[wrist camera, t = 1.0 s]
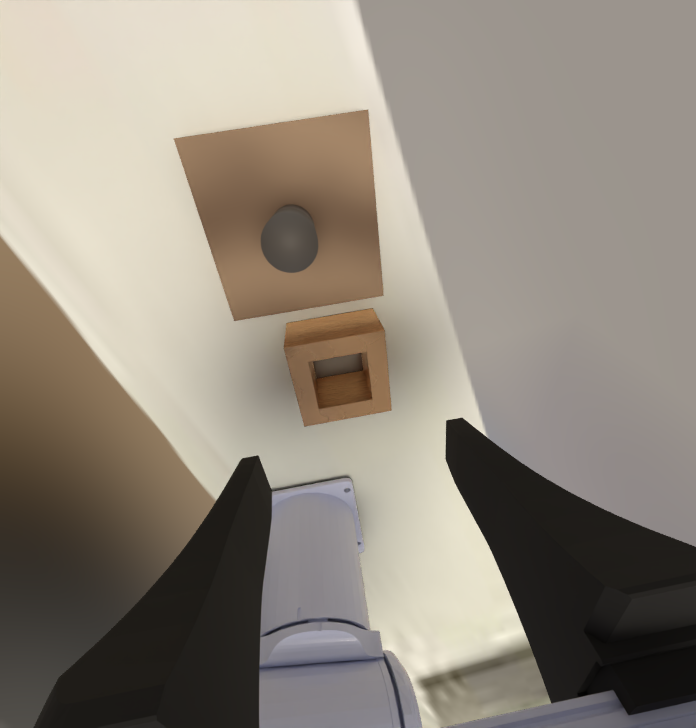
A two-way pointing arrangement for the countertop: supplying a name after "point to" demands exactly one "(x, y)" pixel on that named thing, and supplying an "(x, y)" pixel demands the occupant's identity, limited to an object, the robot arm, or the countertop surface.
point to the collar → (345, 390)
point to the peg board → (288, 176)
